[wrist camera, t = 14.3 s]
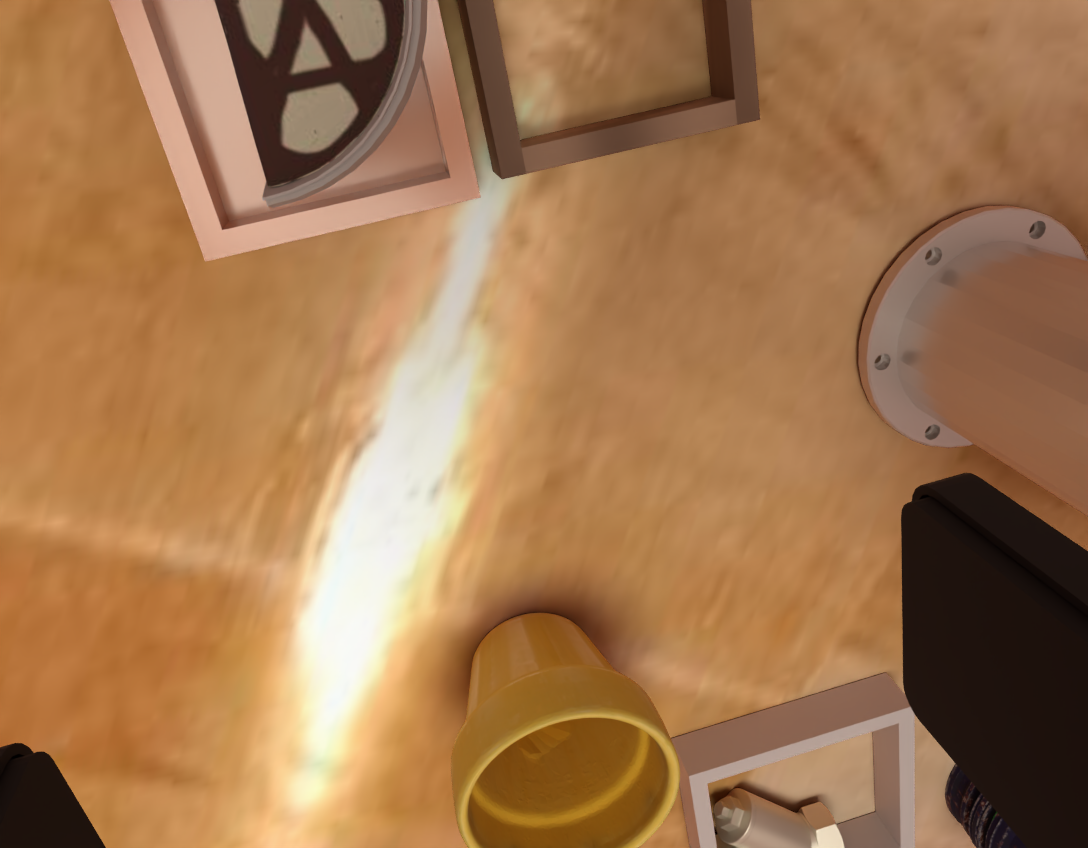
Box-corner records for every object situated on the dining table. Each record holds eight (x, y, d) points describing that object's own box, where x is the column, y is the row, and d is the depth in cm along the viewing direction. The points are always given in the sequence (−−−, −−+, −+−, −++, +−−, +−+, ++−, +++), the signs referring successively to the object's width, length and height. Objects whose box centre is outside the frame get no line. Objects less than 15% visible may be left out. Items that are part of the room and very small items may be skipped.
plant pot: (574, 750, 51) (621, 898, 42) (408, 716, 47) (421, 869, 38) (653, 608, 48) (721, 735, 39) (482, 561, 44) (514, 688, 35)
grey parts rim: (885, 672, 53) (914, 705, 50) (889, 817, 59) (915, 854, 56) (671, 738, 52) (688, 776, 49) (695, 880, 57) (712, 922, 55)
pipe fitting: (693, 786, 55) (707, 864, 57) (716, 833, 51) (730, 914, 53) (810, 750, 56) (819, 828, 58) (841, 793, 52) (849, 875, 54)
